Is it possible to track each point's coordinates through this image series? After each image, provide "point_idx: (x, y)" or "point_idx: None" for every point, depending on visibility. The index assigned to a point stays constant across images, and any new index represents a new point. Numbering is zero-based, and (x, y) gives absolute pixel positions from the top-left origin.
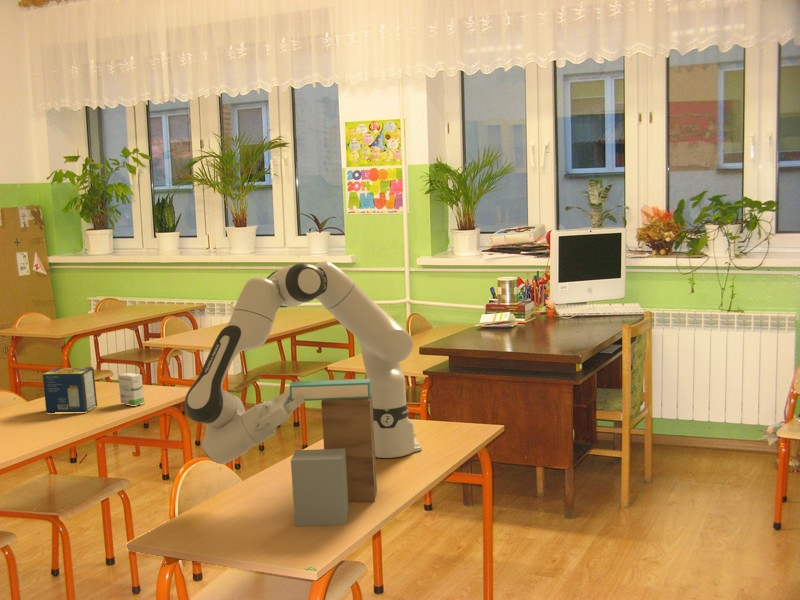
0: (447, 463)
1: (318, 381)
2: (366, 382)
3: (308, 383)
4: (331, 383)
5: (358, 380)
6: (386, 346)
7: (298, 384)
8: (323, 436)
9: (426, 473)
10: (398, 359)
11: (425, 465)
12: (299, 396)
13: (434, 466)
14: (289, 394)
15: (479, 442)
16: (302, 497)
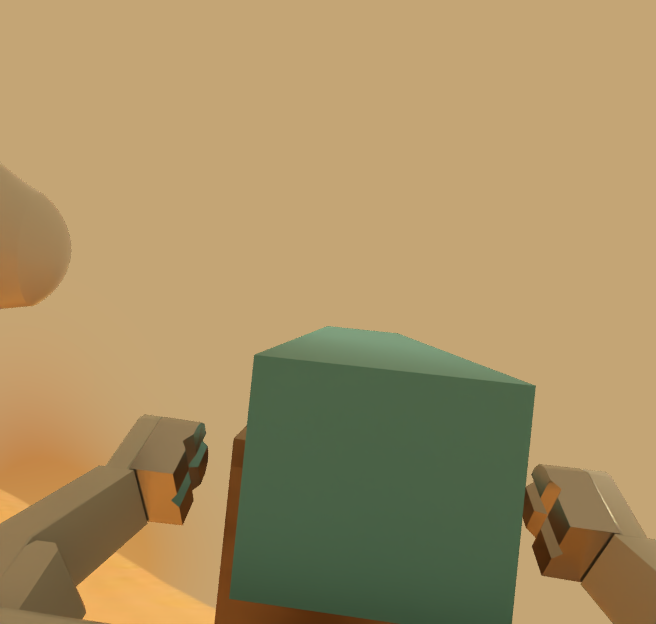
0: (119, 568)
1: (331, 338)
2: (394, 333)
3: (397, 350)
4: (406, 341)
5: (353, 330)
6: (38, 242)
7: (443, 363)
8: None
9: (164, 616)
10: (44, 296)
11: (94, 608)
12: (579, 481)
13: (120, 593)
14: (74, 620)
15: (28, 505)
16: None
